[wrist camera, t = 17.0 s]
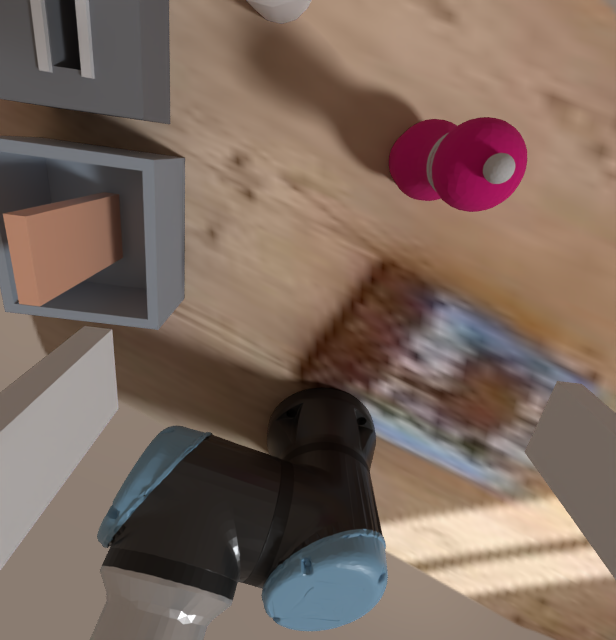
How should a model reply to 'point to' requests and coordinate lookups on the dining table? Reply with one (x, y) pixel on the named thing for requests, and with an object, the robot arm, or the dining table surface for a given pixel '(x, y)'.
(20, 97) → the dispenser
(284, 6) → the foam cup
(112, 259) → the terracotta flat slab
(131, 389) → the dining table surface
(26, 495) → the robot arm
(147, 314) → the bin
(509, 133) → the pepper mill
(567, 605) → the dining table surface
